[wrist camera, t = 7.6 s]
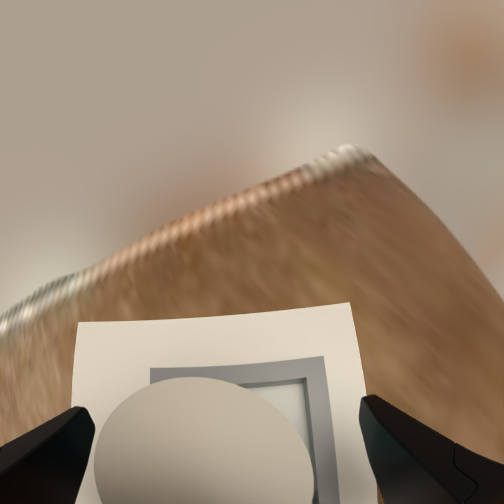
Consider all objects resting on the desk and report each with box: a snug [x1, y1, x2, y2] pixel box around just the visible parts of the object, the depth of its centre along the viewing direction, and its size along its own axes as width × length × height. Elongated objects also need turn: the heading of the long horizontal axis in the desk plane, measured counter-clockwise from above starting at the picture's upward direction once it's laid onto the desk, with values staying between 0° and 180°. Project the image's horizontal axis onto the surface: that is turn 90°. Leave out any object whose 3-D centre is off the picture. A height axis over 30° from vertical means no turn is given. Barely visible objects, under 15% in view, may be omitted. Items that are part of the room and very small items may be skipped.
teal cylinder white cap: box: [94, 377, 314, 504], centre depth 10 cm, size 5×5×11 cm
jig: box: [71, 303, 378, 504], centre depth 14 cm, size 16×18×3 cm
